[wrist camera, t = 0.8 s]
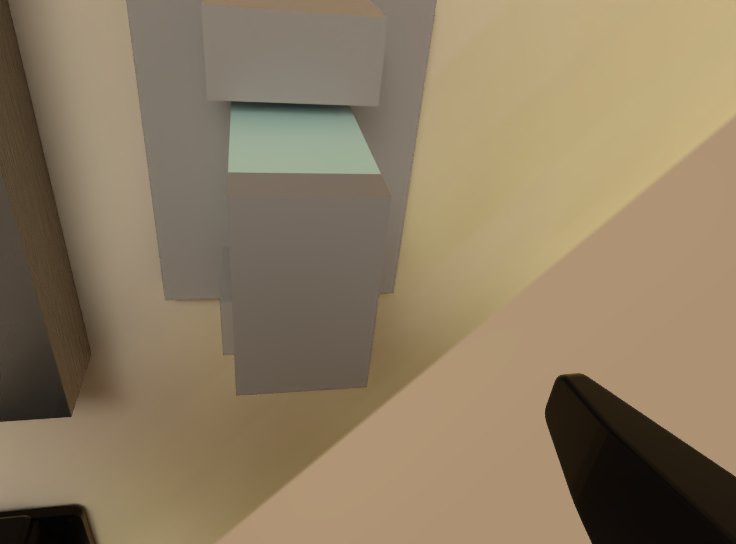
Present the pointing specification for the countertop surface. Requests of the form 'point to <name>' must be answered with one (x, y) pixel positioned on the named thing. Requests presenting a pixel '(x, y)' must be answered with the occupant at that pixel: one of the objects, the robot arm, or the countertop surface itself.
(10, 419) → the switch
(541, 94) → the countertop surface
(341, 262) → the plug
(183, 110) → the holster
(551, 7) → the countertop surface
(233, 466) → the countertop surface
